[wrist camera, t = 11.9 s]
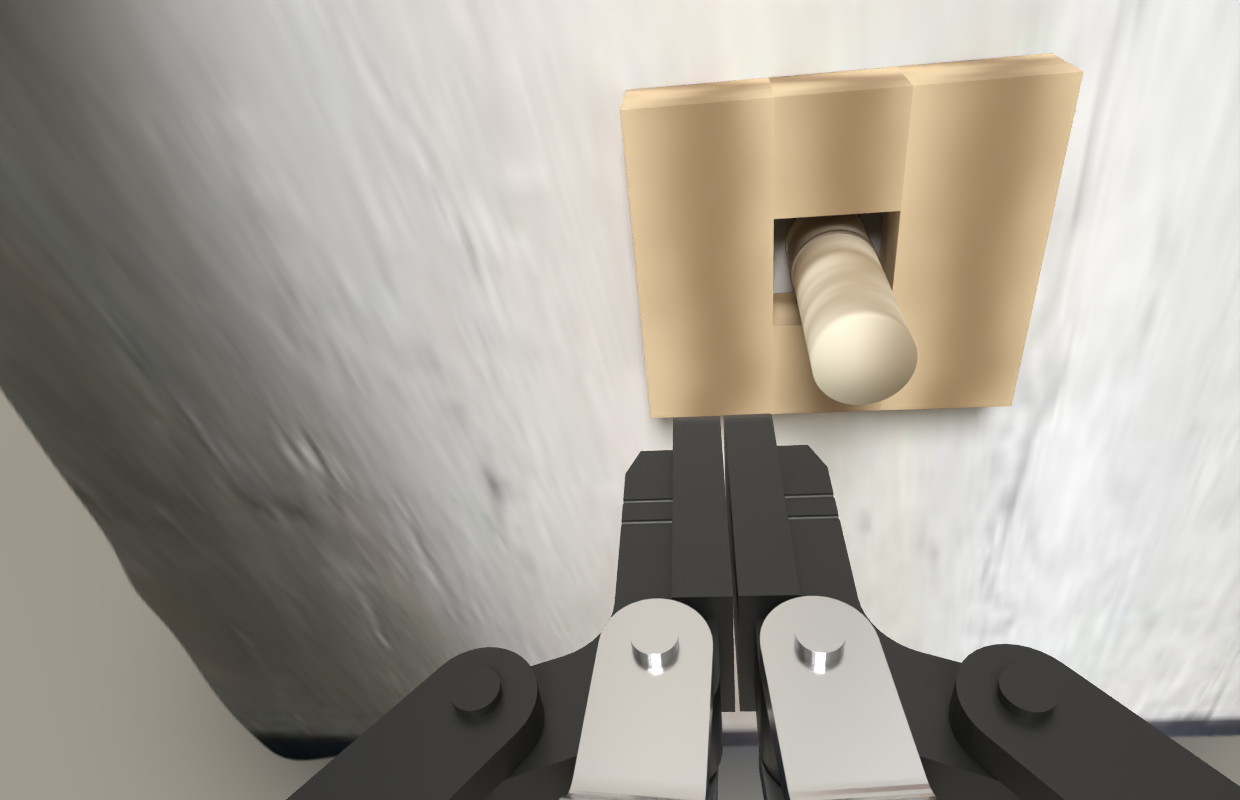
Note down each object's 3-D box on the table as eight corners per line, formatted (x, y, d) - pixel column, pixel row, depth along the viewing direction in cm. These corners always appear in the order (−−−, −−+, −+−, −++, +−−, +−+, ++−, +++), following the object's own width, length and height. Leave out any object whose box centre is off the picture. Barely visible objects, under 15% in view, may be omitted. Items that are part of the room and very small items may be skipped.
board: (653, 382, 39) (650, 417, 37) (626, 90, 32) (620, 110, 29) (990, 369, 37) (1011, 406, 35) (1051, 53, 29) (1083, 71, 27)
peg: (784, 280, 36) (808, 408, 27) (785, 205, 34) (811, 319, 25) (864, 275, 35) (913, 404, 27) (869, 200, 33) (924, 313, 25)
